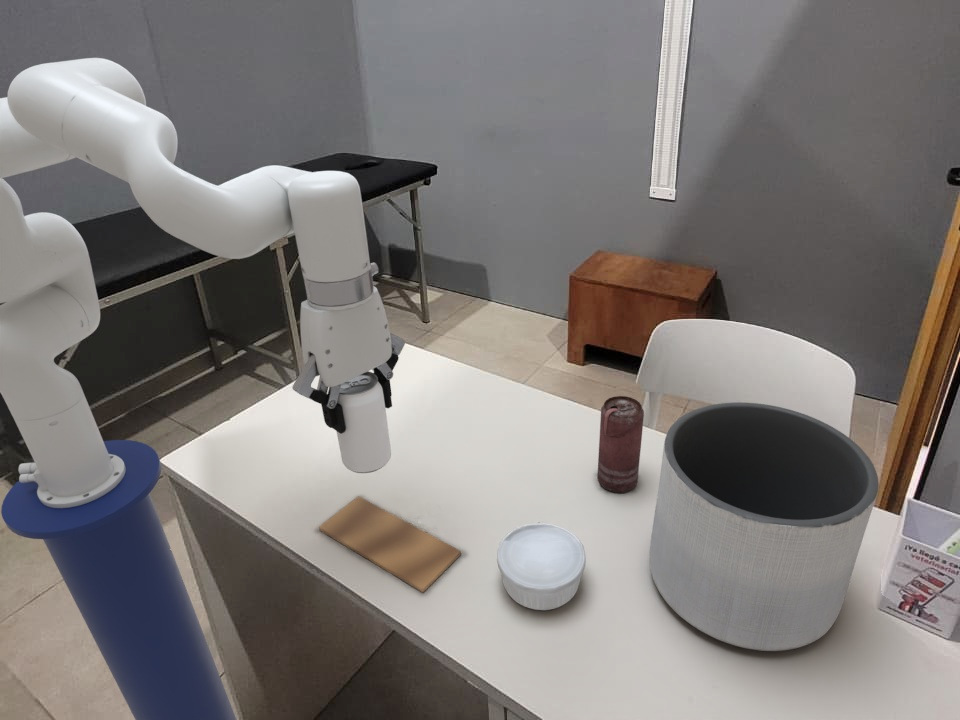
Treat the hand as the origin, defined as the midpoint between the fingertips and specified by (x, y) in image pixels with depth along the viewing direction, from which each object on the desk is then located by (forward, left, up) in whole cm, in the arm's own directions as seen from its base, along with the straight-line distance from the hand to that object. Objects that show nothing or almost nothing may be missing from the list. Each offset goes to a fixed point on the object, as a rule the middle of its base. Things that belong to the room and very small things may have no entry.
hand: (360, 415), depth 82 cm
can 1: (0, 0, -7) cm, 7 cm away
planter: (+46, -14, -21) cm, 53 cm away
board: (+1, -1, -21) cm, 21 cm away
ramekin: (+21, -11, -21) cm, 32 cm away
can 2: (+36, +7, -21) cm, 42 cm away
